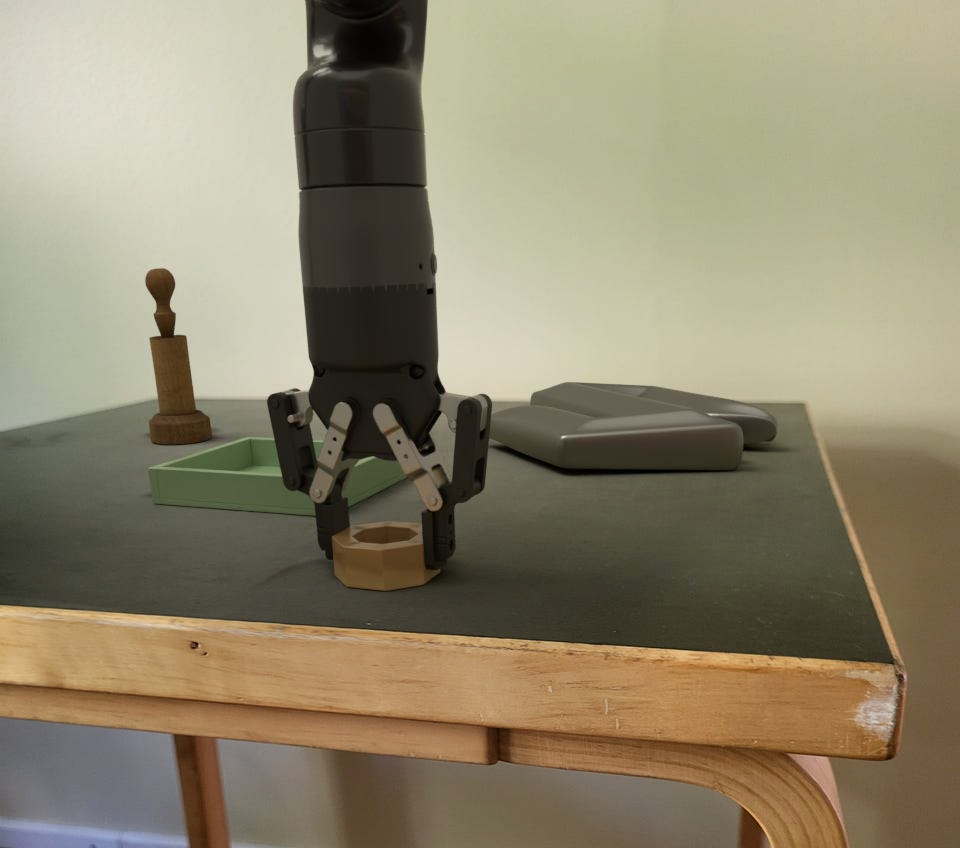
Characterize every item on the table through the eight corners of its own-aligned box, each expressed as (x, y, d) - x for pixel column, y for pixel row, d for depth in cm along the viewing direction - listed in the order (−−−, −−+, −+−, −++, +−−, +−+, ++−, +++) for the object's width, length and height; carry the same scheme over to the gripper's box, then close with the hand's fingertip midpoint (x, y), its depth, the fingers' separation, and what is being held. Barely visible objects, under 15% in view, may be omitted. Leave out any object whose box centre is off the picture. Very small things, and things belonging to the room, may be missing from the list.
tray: (152, 503, 81) (147, 468, 79) (250, 468, 93) (247, 436, 92) (329, 517, 75) (325, 478, 74) (407, 477, 88) (405, 444, 86)
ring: (320, 584, 60) (316, 544, 59) (366, 556, 65) (363, 518, 64) (412, 594, 57) (409, 552, 57) (451, 564, 63) (450, 525, 62)
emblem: (426, 405, 92) (567, 372, 114) (429, 461, 94) (567, 418, 116) (707, 426, 78) (808, 383, 99) (703, 491, 80) (803, 436, 101)
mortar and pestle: (170, 447, 105) (144, 269, 98) (140, 441, 109) (113, 269, 102) (223, 438, 109) (202, 267, 102) (192, 432, 113) (170, 267, 106)
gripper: (222, 282, 54) (256, 570, 60) (462, 278, 49) (472, 591, 55) (293, 278, 60) (316, 537, 67) (511, 273, 55) (514, 554, 62)
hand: (387, 561), depth 61 cm, fingers closed on ring, 6 cm apart
